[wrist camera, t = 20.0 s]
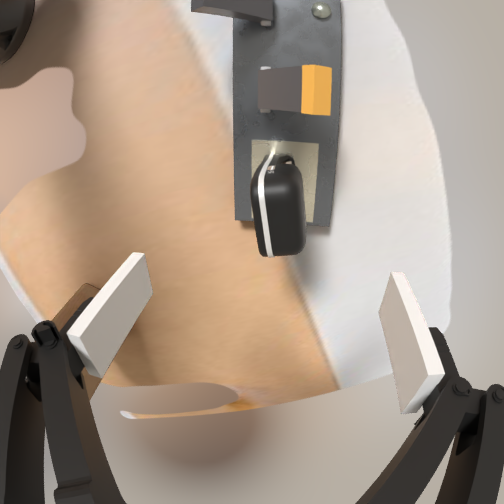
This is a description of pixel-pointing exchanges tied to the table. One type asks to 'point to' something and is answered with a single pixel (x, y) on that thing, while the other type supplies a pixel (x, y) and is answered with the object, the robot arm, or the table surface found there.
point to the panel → (286, 122)
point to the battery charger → (278, 206)
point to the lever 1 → (237, 9)
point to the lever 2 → (295, 89)
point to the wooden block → (65, 315)
